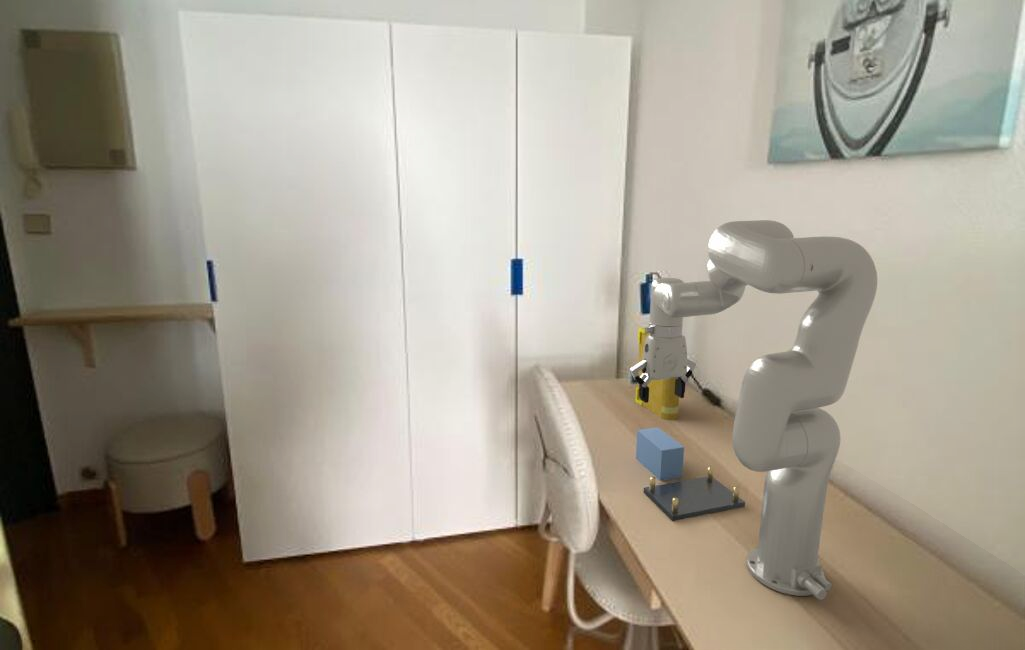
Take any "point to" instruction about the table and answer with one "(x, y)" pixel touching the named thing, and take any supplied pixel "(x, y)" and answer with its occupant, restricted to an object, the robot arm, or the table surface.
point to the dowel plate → (693, 497)
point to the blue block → (659, 453)
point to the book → (658, 390)
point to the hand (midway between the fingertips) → (661, 398)
